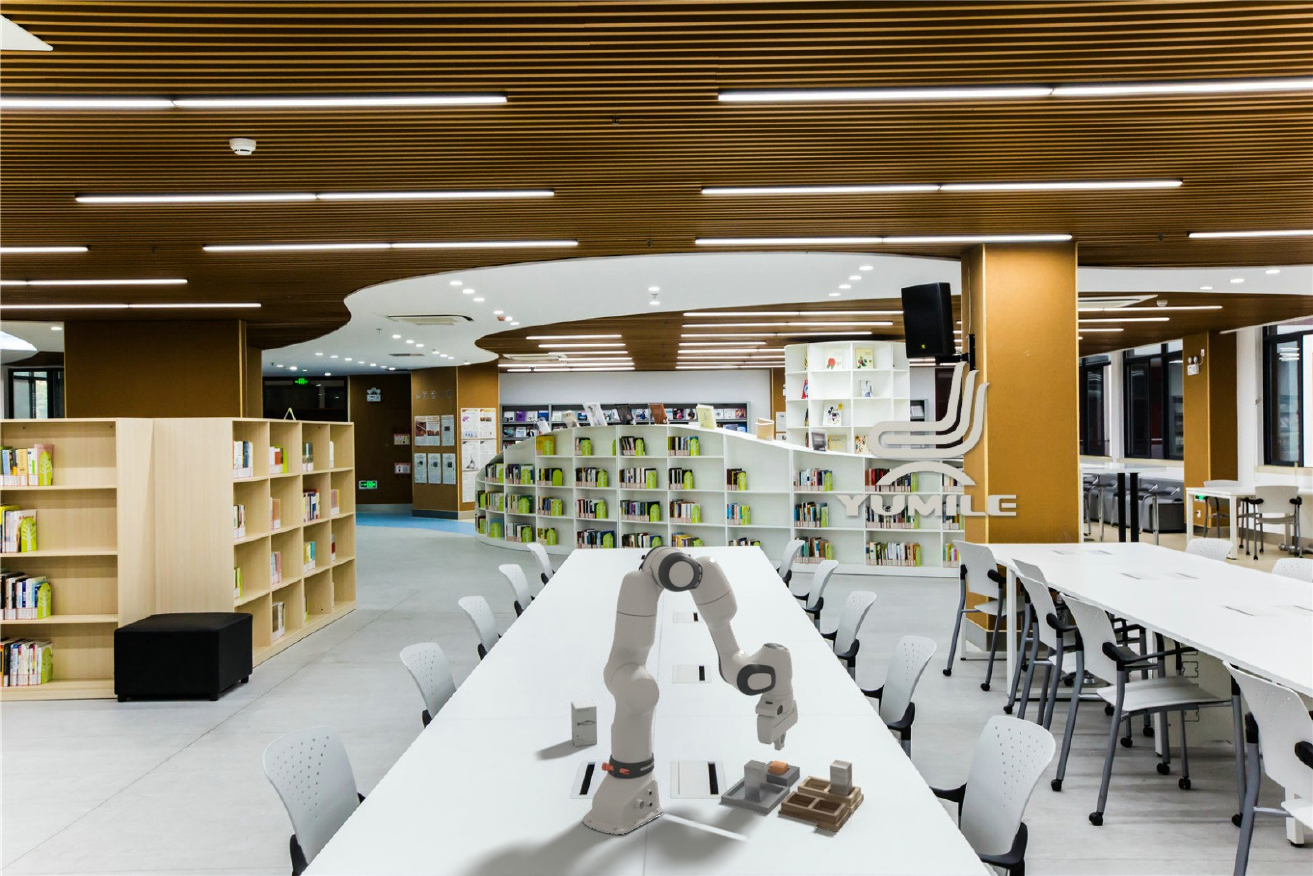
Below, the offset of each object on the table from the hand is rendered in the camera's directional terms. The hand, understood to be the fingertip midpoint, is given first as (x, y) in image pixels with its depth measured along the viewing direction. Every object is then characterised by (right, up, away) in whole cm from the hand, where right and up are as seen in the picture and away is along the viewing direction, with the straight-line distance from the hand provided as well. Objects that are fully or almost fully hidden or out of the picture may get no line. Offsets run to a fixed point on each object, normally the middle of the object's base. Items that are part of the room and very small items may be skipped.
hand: (779, 748), depth 231 cm
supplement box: (-59, -11, +34) cm, 69 cm away
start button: (0, -8, 0) cm, 8 cm away
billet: (-8, -9, -10) cm, 16 cm away
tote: (-8, -10, -10) cm, 17 cm away
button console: (0, -10, 0) cm, 10 cm away
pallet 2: (+6, -10, -20) cm, 23 cm away
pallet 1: (+12, -10, -11) cm, 19 cm away
